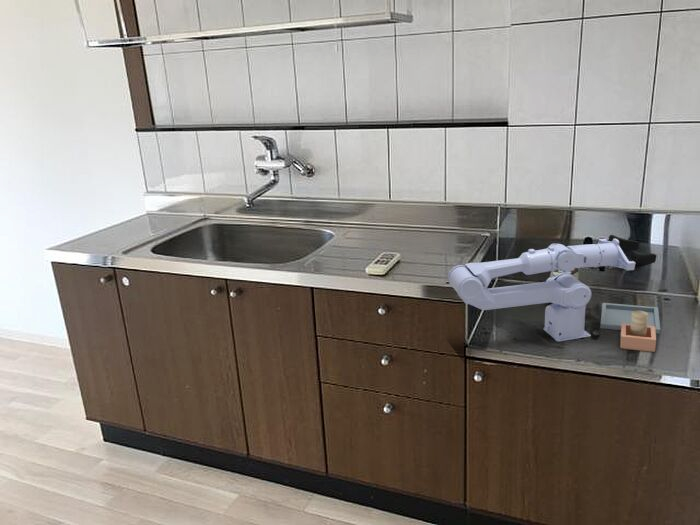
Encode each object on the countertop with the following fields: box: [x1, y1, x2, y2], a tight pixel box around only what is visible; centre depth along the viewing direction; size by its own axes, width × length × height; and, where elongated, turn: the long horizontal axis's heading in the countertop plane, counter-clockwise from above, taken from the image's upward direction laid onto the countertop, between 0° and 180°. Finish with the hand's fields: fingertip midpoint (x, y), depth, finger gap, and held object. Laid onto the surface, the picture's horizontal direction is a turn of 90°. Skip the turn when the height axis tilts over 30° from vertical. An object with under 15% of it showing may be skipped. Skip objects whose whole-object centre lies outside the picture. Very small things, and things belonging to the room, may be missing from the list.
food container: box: [549, 268, 581, 280], centre depth 173 cm, size 12×6×10 cm, turn 141°
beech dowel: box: [630, 311, 648, 337], centre depth 146 cm, size 4×4×8 cm
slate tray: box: [599, 302, 661, 335], centre depth 159 cm, size 14×14×2 cm
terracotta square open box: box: [619, 323, 657, 353], centre depth 147 cm, size 8×8×4 cm
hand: (646, 251), depth 151 cm, fingers open, 7 cm apart
